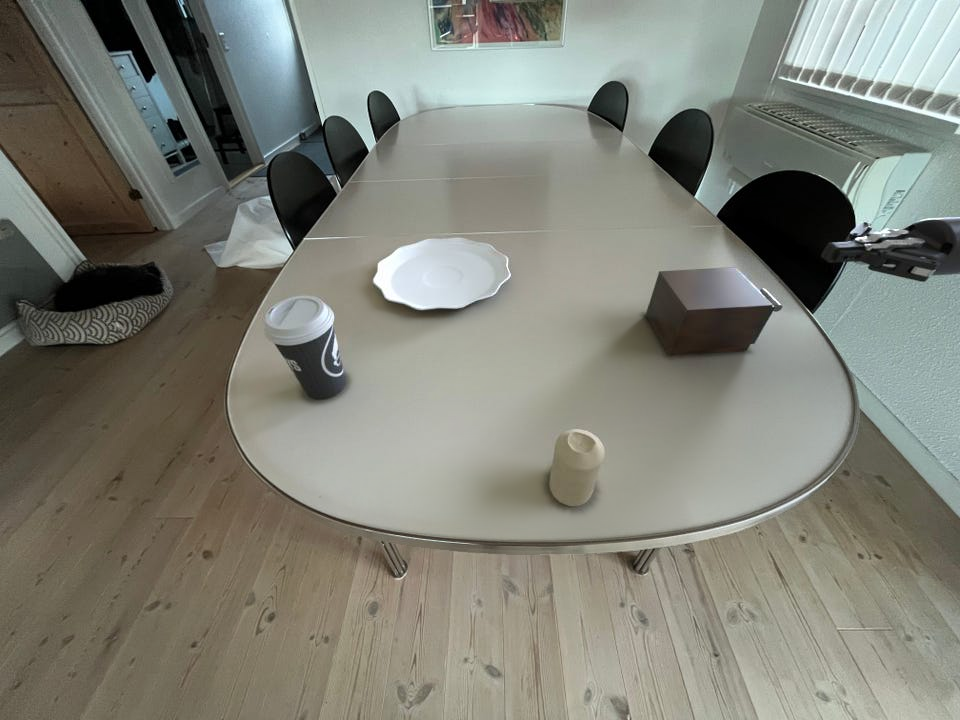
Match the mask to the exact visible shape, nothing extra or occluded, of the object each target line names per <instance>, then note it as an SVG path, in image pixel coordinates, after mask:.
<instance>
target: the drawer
mask: <svg viewBox="0 0 960 720" xmlns="http://www.w3.org/2000/svg"><path fill="white" fill-rule="evenodd" d="M740 273H741V274H742V275H743V276H744V277H745V278H746V279H747V280H748V281H749V282H750V283H751V284H752V285H753V286H754V287H755V288H756V289H757V290H758V291H759V292H760V293H761V294H762V295H763V296H764V297H765V298H766V299H767V300H768V301H769V302H770V303H771V304H772V305H773V306H772V308H771V309H770V311H769V313H768V315H767V316H766V318H765V320H764V322H763V324H762V325H761V327H760V329H759V331H758V332H757V334H756V336H755V338H754V339H753V341H752V343H751V345H755V344H756V342H757V341H758V339H759V337H760V335H761V333H762V332H763V329H764V328H765V326H766V324H767V323H768V321H769V319H770V317H771V315H772V314H773V312H775V313H777V312H781V310H782V309H783V305H782V303H780V302H779V301H778V300H777V299H776V298H775V297H774V296H773V295H772V294H771V293H770V292H769V291H768V290H767V289H766V288H761V289H758V288H757V286H755V285H754V284H753V283H752V282H751V281H750V280H749V279H748V278H747V277H746V276H745V275H744V274H743V273H742V272H740Z"/></svg>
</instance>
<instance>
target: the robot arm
mask: <svg viewBox="0 0 960 720" xmlns="http://www.w3.org/2000/svg"><path fill="white" fill-rule="evenodd" d="M873 228H874V227H873V226H872V222H869V221H866V220H864V221H862V220H861V221H860V222H859V223H858V225H857V224H856V226H855V227H854V228H853V229H852V230H851V231H850V232H849V233H848V236H847V237H846V238H845V240H844V241H837V242H835V241H833V242H828V244H827V245H826V246H825V248H824V249H823V251H822V253H821V254H820V257H821V258H822V259H823V260H825V261H826V262H827V263H854V264H857V265H861V266H862V265H863V266H864V265H867V269H868V270H870V271H872V272H877V273H881V274H886V275H891V276H895V277H899V278H902V279H903V278H904V279H907V280H912V281H916V282H921V283H924V282H927V280H929V278H931V276H933V277H934V276H949V275H960V216H958V217H957V216H956V217H954V216H953V217H935V218H934V217H933V218H925V219H921V220H918V221H915V222H914V223H912V224H910V225H908V226H906V227H904V228H899V229H894V228H884V229H882V230H881V231H880V230H877V229H873Z"/></svg>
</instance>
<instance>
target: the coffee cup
mask: <svg viewBox="0 0 960 720" xmlns="http://www.w3.org/2000/svg"><path fill="white" fill-rule="evenodd" d="M334 321H335V314H334V312H333V310H332V309H331V308H330V306H329V305H327V304H326V303H325V302H323V300H322V299H320V298H318V297H316V296H313V295H297V296H292V297H288V298H285V299H282V300H281V301H279V302H277V303H275V304H273V306H271V307H270V308H269V309H268V310H267V312H266V314H265V317H264V322H263V323H264V325H263V332H264V336H265V338H266V340H268V341H269V342H271V343H272V344H274V345H275V347H276V348H277V350H278V352H279V353H280V356H282V358H283V359H284V361H285V362H286V364H287V366H288V368H289V369H290V370H291V372H292V374H294V377H295V378H296V380H297V381H298V384H299V385H300V386H301V388H302V389H303V391H304V393H305V394H306V395H307V397H309V398H310V399H312V400H317V401H322V400H323V401H324V400H329V399H331V398H333V397H336V396H338V395H339V394H340V393H341V392H342V391H343V390H344V388H345V387H346V385H347V379H346V375H345V370H344V366H343V361H342V358H341V353H340V350H339V345H338V341H337V340H338V339H337V335H336V332H335V328H334Z"/></svg>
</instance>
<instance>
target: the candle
mask: <svg viewBox="0 0 960 720" xmlns="http://www.w3.org/2000/svg"><path fill="white" fill-rule="evenodd" d="M554 445H555V446H554V451H553V452H554V453H553V457H552V463H551V468H550V469H551V470H550V475H549V489H550V492H551V494H552V496H553V497H554V498H555V499H556V500H557V501H558V502H559V503H561V504H563V505H564V506H568V507H579V506H583V505H584V504H586V503H587V502H588V501H589V500H590V498H591V497H592V495H593V492H594V490H595V486H596V483H597V480H598V477H599V474H600V471H601V467H602V464H603V461H604V458H605V447H604V445H603V443H602V442H601V440H600V439H599V438H598V437H597V436H596V435H595V434H594V433H592V432H591V431H587V430H585V429H580V428H574V429H573V428H572V429H568V430H565V431H564V432H562V433H560V435H559V436H558V437H557V439H556V441H555V444H554Z"/></svg>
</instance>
